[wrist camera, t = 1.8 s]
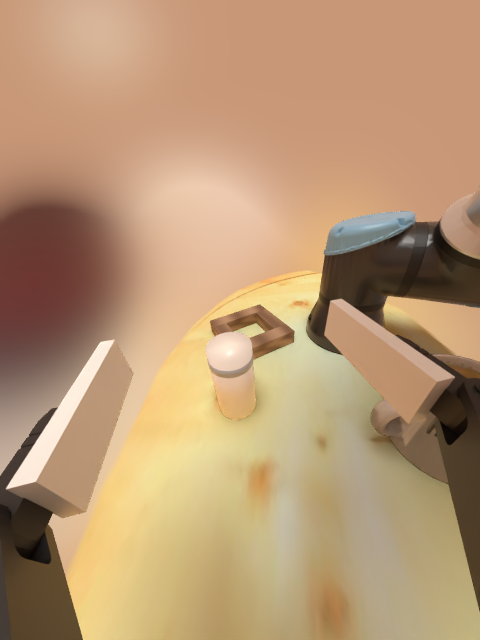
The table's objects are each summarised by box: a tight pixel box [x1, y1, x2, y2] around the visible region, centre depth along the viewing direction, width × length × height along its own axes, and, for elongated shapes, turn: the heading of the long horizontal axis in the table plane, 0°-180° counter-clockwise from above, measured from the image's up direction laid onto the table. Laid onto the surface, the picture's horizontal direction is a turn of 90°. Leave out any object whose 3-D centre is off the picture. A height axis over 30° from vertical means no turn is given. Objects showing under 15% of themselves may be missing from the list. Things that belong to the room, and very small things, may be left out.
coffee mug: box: [370, 354, 480, 483], centre depth 23 cm, size 13×10×10 cm
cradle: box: [210, 305, 294, 359], centre depth 45 cm, size 14×14×3 cm
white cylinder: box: [206, 332, 256, 420], centre depth 29 cm, size 6×6×12 cm
